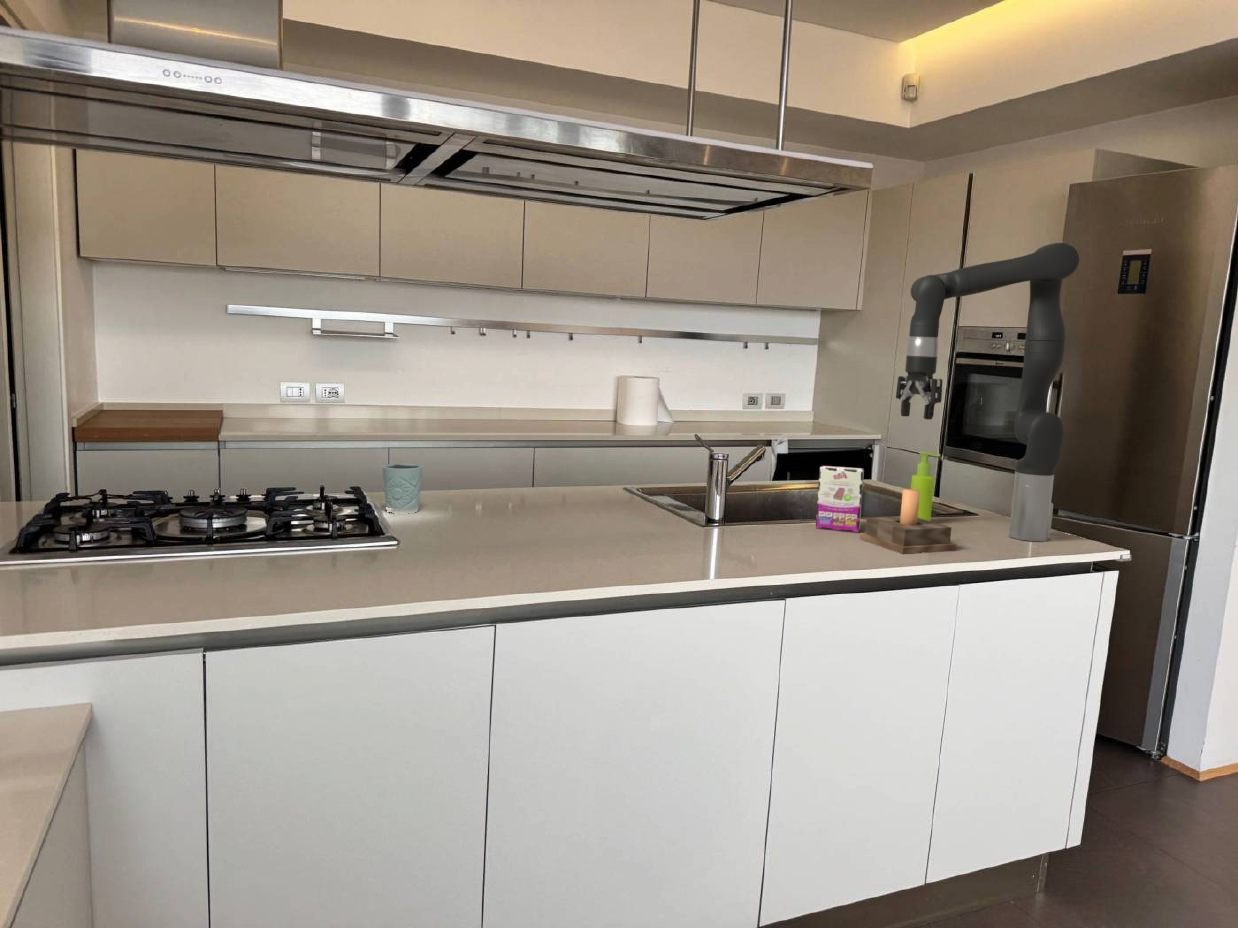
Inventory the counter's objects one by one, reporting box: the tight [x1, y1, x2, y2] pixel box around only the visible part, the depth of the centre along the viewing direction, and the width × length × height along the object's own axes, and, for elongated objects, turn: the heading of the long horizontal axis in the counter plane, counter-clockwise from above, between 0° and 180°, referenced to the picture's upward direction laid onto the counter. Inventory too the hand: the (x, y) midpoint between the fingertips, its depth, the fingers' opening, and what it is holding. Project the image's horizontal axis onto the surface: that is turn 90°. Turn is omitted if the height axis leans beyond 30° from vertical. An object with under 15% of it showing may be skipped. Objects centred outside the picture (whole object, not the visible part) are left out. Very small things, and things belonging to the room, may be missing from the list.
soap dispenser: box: [910, 451, 941, 521], centre depth 244 cm, size 6×7×20 cm
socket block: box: [859, 515, 957, 555], centre depth 217 cm, size 16×16×6 cm
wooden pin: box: [900, 488, 920, 525], centre depth 216 cm, size 4×4×12 cm
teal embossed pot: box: [382, 463, 423, 510], centre depth 230 cm, size 10×10×12 cm
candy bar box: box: [815, 465, 865, 533], centre depth 231 cm, size 11×5×16 cm, turn 71°
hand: (916, 417), depth 229 cm, fingers open, 8 cm apart
